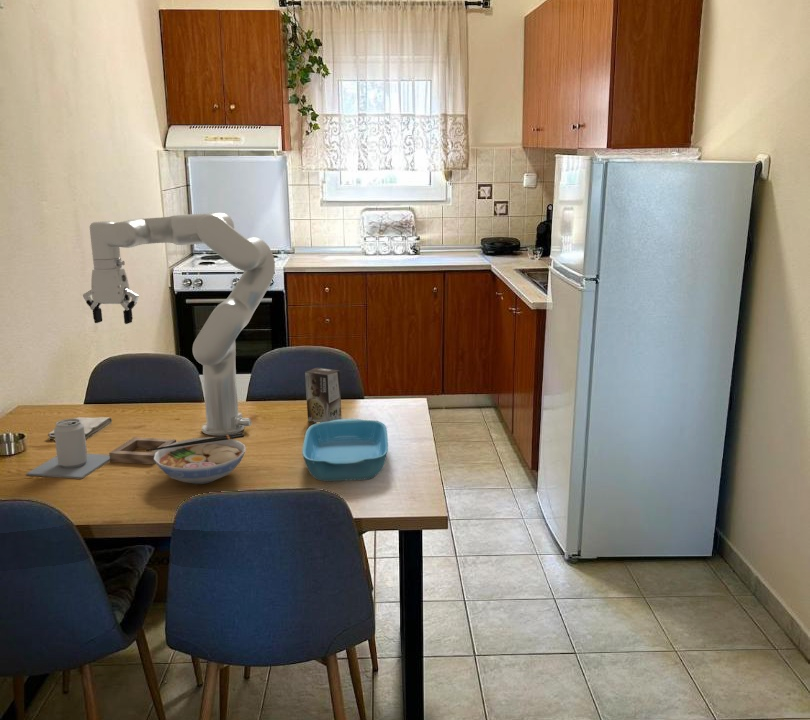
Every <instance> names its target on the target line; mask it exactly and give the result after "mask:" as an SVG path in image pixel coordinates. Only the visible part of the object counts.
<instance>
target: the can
mask: <svg viewBox="0 0 810 720" xmlns="http://www.w3.org/2000/svg"><path fill="white" fill-rule="evenodd" d="M53 430H54V435H55V441H54V442H55V450H56V456H57V459H58V464H59V465H61V466H62V467H64V468H73V467H78V466H81V465H83V464H84V463H85V462H86V461H87V460H88V456H87V454H88V449H87V442H86V440H87V439H85V430H84V425H83V424H82V423H81V420H80V419H75V418H67V419H66V418H65V419H61V420H58V421H56V423H55V427H54V428H53Z"/></svg>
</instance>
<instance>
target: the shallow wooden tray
mask: <svg viewBox="0 0 810 720" xmlns="http://www.w3.org/2000/svg"><path fill="white" fill-rule="evenodd" d="M175 442H177V439H172V438H168V439H167V438H152V437H137V436H136V437H135V436H133V437H132V438H131V439H129V440H128V441H126V442H124V443H123V444H121V445H119V446H118V447H116V448H115V449H113V450H112V451H110V452H109V453H108V455H109V456H110V461H109V462H111V463H123V464H124V463H127V464H144V465H156V462H155V460H154V455H155V453H156V452H157V451H158V450H152V451H150V452H149V451H145V452H144V451H137V449H143V450H149V449H154V448H160V447H164V446H167V445H170V444H173V443H175ZM135 450H136V451H135ZM159 450H160V449H159ZM132 451H133V452H132Z"/></svg>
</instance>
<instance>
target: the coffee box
mask: <svg viewBox="0 0 810 720" xmlns="http://www.w3.org/2000/svg"><path fill="white" fill-rule="evenodd" d="M340 373H341V371H340V370H338V369H330V368H326V367H325V368H324V367H315V368H312V369H309V370H307V371H304V374H305V375H304V377H305V378H304V379H305V380H304V381H305V392H306V396H305V397H306V411H307V421H308V422H310V421H314V422H313V423H315V422H320V423H321V422H328V421H333V420H339V419H343V417H342V402H341V401H342V400H341V398H342V397H341V394H342V393H341V374H340Z"/></svg>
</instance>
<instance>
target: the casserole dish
mask: <svg viewBox="0 0 810 720" xmlns="http://www.w3.org/2000/svg"><path fill="white" fill-rule="evenodd" d="M387 428H388V427H387V426H386V424H385V423H383V422H382V421H378V420H369V419H360V418H342V419H339V420H333V421H328V422H321V423H314V424H312V425H310V426H309V427H308V428H307V429H306V431H305V435H304V438H303V440H304V441H303V445H302V454H301V455H302V456H303V459H304V463H305V465H306V467H307V470H308V472H309V473H310V474H311V476H312V477H313V478H315V479H317V480H318V481H322V482H341V481H342V482H345V481H348V482H349V481H363V480H370V479H374V478H375V477H376V476H377V475H379V474H380V473H381V471H383V468H384V465H385V462H386V459H387V455H388V451H389V442H388V441H389V440H388V429H387Z"/></svg>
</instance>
